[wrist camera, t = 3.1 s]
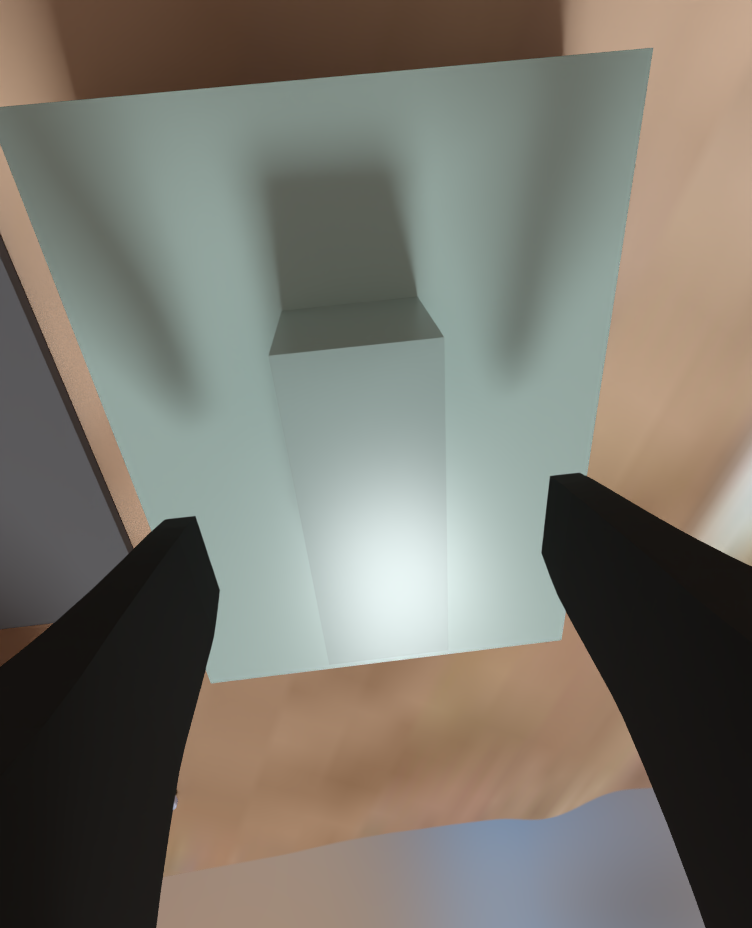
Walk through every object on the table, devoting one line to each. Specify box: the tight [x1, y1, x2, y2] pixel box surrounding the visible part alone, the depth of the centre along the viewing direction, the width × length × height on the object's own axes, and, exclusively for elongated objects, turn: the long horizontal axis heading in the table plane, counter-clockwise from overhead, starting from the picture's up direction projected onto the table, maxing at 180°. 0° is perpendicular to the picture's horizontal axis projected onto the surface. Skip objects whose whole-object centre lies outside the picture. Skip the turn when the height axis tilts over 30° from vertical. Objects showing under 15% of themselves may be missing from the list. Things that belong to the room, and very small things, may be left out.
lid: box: [0, 48, 653, 683], centre depth 13 cm, size 16×12×4 cm
